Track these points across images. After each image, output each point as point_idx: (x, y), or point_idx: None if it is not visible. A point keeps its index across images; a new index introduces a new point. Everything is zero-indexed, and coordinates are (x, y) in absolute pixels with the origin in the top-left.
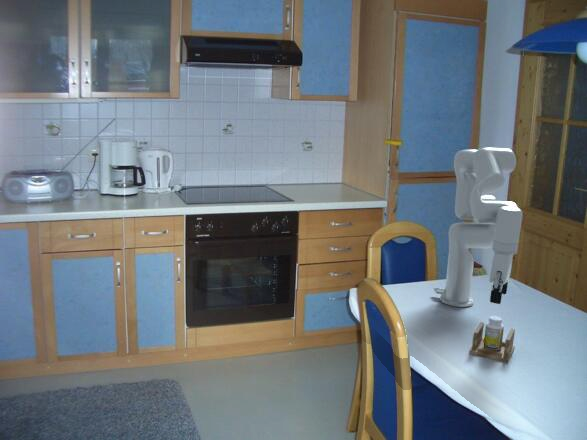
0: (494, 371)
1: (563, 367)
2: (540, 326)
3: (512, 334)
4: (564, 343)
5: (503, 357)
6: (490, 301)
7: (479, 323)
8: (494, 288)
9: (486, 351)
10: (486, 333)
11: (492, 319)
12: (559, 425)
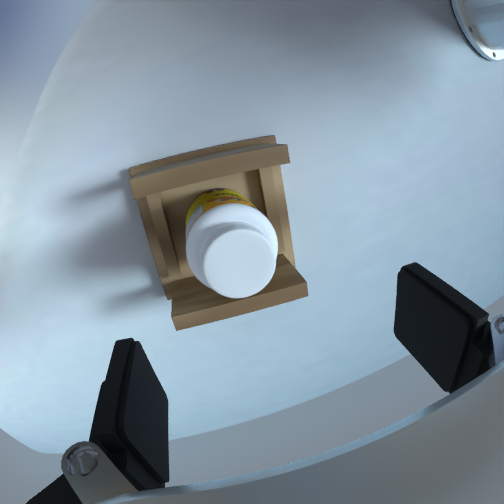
0: (79, 291)
1: (260, 390)
2: (467, 248)
3: (245, 313)
4: None
5: (170, 282)
6: (118, 344)
7: (264, 148)
8: (55, 498)
9: (155, 226)
10: (192, 216)
11: (204, 262)
12: (27, 434)
